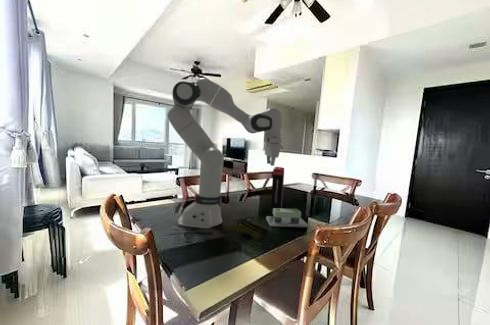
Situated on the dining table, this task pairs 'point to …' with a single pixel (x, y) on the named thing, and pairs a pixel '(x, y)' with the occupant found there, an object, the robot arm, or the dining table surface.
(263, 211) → the dining table surface
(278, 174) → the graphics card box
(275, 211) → the board
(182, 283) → the dining table surface
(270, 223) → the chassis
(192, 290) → the dining table surface
